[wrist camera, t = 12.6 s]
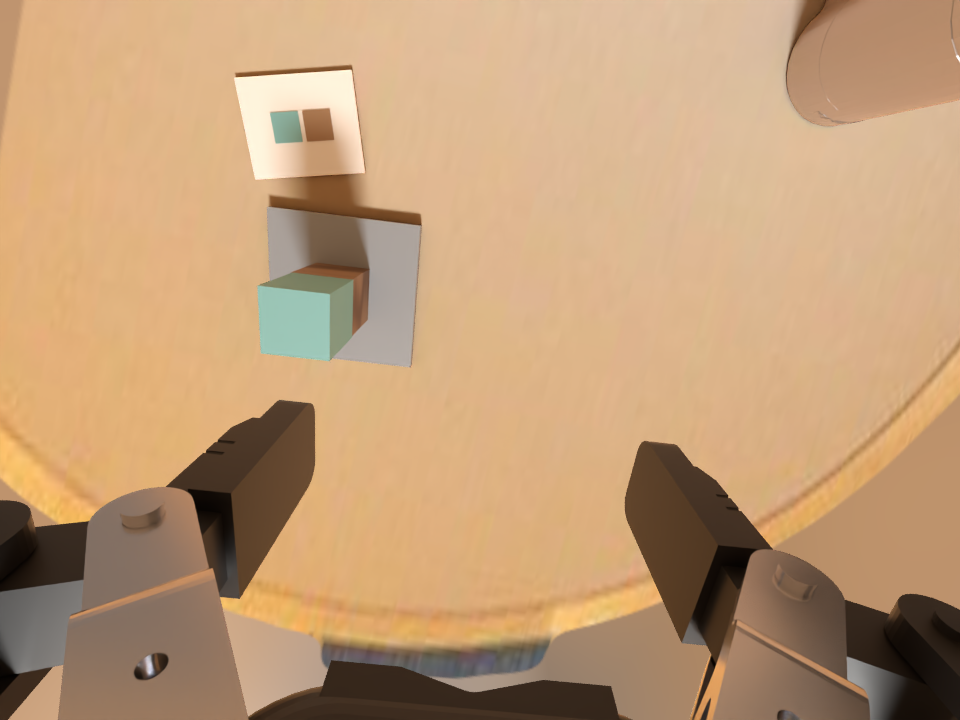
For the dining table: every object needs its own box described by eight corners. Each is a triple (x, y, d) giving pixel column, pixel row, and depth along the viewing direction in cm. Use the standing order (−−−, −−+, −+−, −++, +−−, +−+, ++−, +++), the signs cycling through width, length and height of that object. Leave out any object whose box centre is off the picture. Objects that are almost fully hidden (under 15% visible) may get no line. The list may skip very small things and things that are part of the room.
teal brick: (292, 272, 37) (257, 285, 31) (353, 279, 37) (329, 294, 31) (293, 330, 38) (260, 353, 33) (352, 337, 39) (329, 361, 33)
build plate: (270, 206, 42) (266, 206, 41) (421, 225, 42) (420, 225, 41) (276, 349, 46) (272, 351, 45) (411, 364, 47) (410, 367, 46)
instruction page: (235, 78, 38) (233, 77, 38) (352, 70, 38) (351, 69, 38) (256, 179, 41) (254, 179, 40) (365, 172, 40) (364, 172, 40)
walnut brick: (316, 262, 42) (291, 272, 37) (369, 268, 43) (352, 279, 37) (316, 313, 44) (292, 330, 38) (367, 319, 44) (350, 337, 39)
